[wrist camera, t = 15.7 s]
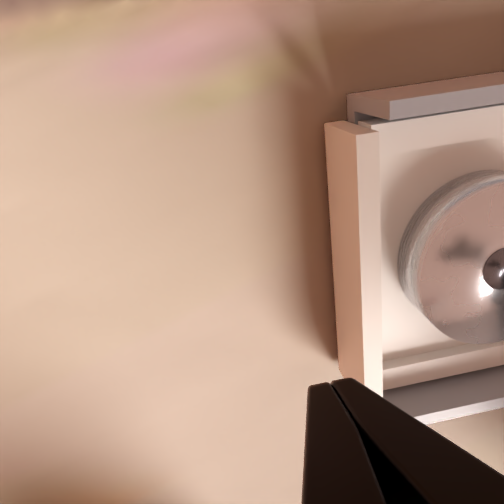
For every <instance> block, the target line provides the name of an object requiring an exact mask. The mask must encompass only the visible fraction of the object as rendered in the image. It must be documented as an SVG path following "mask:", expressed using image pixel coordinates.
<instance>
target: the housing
mask: <svg viewBox="0 0 504 504" xmlns="http://www.w3.org/2000/svg"><path fill="white" fill-rule="evenodd" d="M499 103H504V71H502V72H495V73H488V74H481V75H474V76H467V77H460V78H454V79H447V80H440V81H433V82H426V83H419V84H412V85H405V86H399V87H392V88H385V89H378V90H371V91H364V92H357V93H350V94H347V117H348V122H351V123H354V124H357V125H358V121H363V120H370V119H376V118H383V119H387V120H395V119H401V118H408V117H414V116H421V115H427V114H434V113H440V112H447V111H454V110H460V109H467V108H473V107H480V106H486V105H493V104H499ZM383 398H385V399H386V400H388V401H389V402H391V403H392V404H394V405H395V406H397V407H399V408H400V409H402V410H403V411H405V412H406V413H408V414H409V415H411V416H412V417H414V418H416V419H417V420H419V421H420V422H422V423H423V424H425V425H428V424H432V423H437V422H441V421H446V420H450V419H455V418H459V417H464V416H468V415H473V414H477V413H482V412H486V411H491V410H495V409H499V408H504V365H500V366H495V367H490V368H486V369H481V370H476V371H472V372H467V373H462V374H458V375H453V376H448V377H444V378H439V379H434V380H430V381H425V382H420V383H415V384H411V385H406V386H401V387H397V388H392V389H387V390H383Z"/></svg>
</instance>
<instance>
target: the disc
mask: <svg viewBox="0 0 504 504" xmlns="http://www.w3.org/2000/svg"><path fill="white" fill-rule="evenodd" d="M397 271H398V277H399V282H400V284H401V287H402V290H403V292H404V293H405V295H406V297H407V298H408V299H409V301H410V302H411V303H412V304H413V305H414V306H415V307H416V308H417V309H418V310H419V311H420V312H421V313H422V314H423V315H424V316H425V317H426V318H427V319H428V320H429V321H430V322H431V323H432V324H433V325H434V326H435V327H436V328H437V329H438V330H440V331H441V332H442V333H443V334H445V335H447V336H448V337H450V338H452V339H455V340H457V341H460V342H464V343H470V344H489V343H496V342H500V341H504V171H503V170H480V171H475V172H471V173H468V174H465V175H462V176H459V177H457V178H455V179H453V180H451V181H449V182H448V183H446V184H445V185H443V186H441V187H440V188H439V189H437V190H436V191H435V192H434V193H432V194H431V195H430V196H429V197H428V198H427V199H426V200H425V201H424V202H423V203H422V204H421V205H420V207H419V208H418V209H417V210H416V212H415V213H414V215H413V216H412V218H411V219H410V221H409V223H408V225H407V227H406V229H405V231H404V233H403V236H402V239H401V242H400V246H399V250H398V258H397Z"/></svg>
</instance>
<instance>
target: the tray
mask: <svg viewBox="0 0 504 504" xmlns="http://www.w3.org/2000/svg"><path fill="white" fill-rule="evenodd" d="M324 128H325V145H326V162H327V178H328V195H329V212H330V228H331V245H332V262H333V279H334V295H335V312H336V329H337V346H338V362H339V370H340V372H341V374H342V376H343V378H353V379H355V380H357V381H358V382H360V383H361V384H363V385H365V386H366V387H368V388H369V389H371V390H372V391H374V392H375V393H377V394H378V395H380V396H382V397H383V390H387V389H392V388H397V387H401V386H406V385H411V384H415V383H420V382H425V381H430V380H434V379H439V378H444V377H448V376H453V375H458V374H462V373H467V372H472V371H476V370H481V369H486V368H490V367H495V366H500V365H504V341H500V342H496V343H489V344H470V343H464V342H460V341H457V340H455V339H452V338H450V337H448V336H447V335H445V334H443V333H442V332H441V331H440V330H438V329H437V328H436V327H435V326H434V325H433V324H432V323H431V322H430V321H429V320H428V319H427V318H426V317H425V316H424V315H423V314H422V313H421V312H420V311H419V310H418V309H417V308H416V307H415V306H414V305H413V304H412V303H411V302H410V301H409V299H408V298H407V297H406V295H405V293H404V292H403V290H402V287H401V284H400V282H399V277H398V271H397V258H398V250H399V246H400V242H401V239H402V236H403V233H404V231H405V229H406V227H407V225H408V223H409V221H410V219H411V218H412V216H413V215H414V213H415V212H416V210H417V209H418V208H419V207H420V205H421V204H422V203H423V202H424V201H425V200H426V199H427V198H428V197H429V196H430V195H431V194H432V193H434V192H435V191H436V190H437V189H439V188H440V187H441V186H443V185H445V184H446V183H448V182H449V181H451V180H453V179H455V178H457V177H459V176H462V175H465V174H468V173H471V172H475V171H480V170H503V171H504V103H499V104H493V105H486V106H480V107H473V108H467V109H460V110H454V111H447V112H440V113H434V114H427V115H421V116H414V117H408V118H401V119H395V120H387V119H383V118H376V119H370V120H363V121H358V125H357V124H354V123H351V122H347V121H344V120H341V121H335V122H328V123H324Z"/></svg>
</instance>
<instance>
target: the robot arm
mask: <svg viewBox="0 0 504 504" xmlns="http://www.w3.org/2000/svg"><path fill="white" fill-rule="evenodd" d="M302 504H504V475H502V474H500V473H499V472H497V471H496V470H494V469H493V468H491V467H490V466H488V465H487V464H485V463H483V462H482V461H480V460H479V459H477V458H476V457H474V456H473V455H471V454H470V453H468V452H467V451H465V450H463V449H462V448H460V447H459V446H457V445H456V444H454V443H453V442H451V441H450V440H448V439H446V438H445V437H443V436H442V435H440V434H439V433H437V432H436V431H434V430H433V429H431V428H429V427H428V426H426V425H425V424H423V423H422V422H420V421H419V420H417V419H416V418H414V417H412V416H411V415H409V414H408V413H406V412H405V411H403V410H402V409H400V408H399V407H397V406H395V405H394V404H392V403H391V402H389V401H388V400H386V399H385V398H383V397H382V396H380V395H378V394H377V393H375V392H374V391H372V390H371V389H369V388H368V387H366V386H365V385H363V384H361V383H360V382H358V381H357V380H355V379H353V378H344V379H339V380H334V381H332V382H331V384H330V383H327V382H325V383H320V384H315V385H311V386H309V388H308V396H307V414H306V432H305V450H304V469H303V487H302Z"/></svg>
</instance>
